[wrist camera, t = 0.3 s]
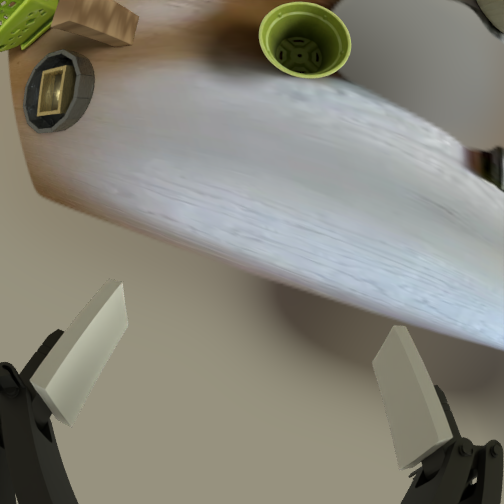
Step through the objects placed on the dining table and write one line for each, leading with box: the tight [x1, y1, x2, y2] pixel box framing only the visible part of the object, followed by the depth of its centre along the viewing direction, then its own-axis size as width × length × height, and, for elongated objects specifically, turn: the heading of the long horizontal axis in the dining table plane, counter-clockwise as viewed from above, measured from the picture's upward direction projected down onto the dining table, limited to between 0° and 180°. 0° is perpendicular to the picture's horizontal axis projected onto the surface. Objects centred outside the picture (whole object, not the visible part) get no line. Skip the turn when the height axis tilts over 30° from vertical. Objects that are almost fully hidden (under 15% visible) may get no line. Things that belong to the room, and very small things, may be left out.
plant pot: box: [259, 2, 351, 78], centre depth 25 cm, size 9×9×9 cm
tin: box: [23, 49, 95, 133], centre depth 29 cm, size 14×14×4 cm
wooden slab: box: [51, 0, 139, 47], centre depth 20 cm, size 5×3×15 cm, turn 171°
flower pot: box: [0, 0, 59, 52], centre depth 17 cm, size 14×14×13 cm
